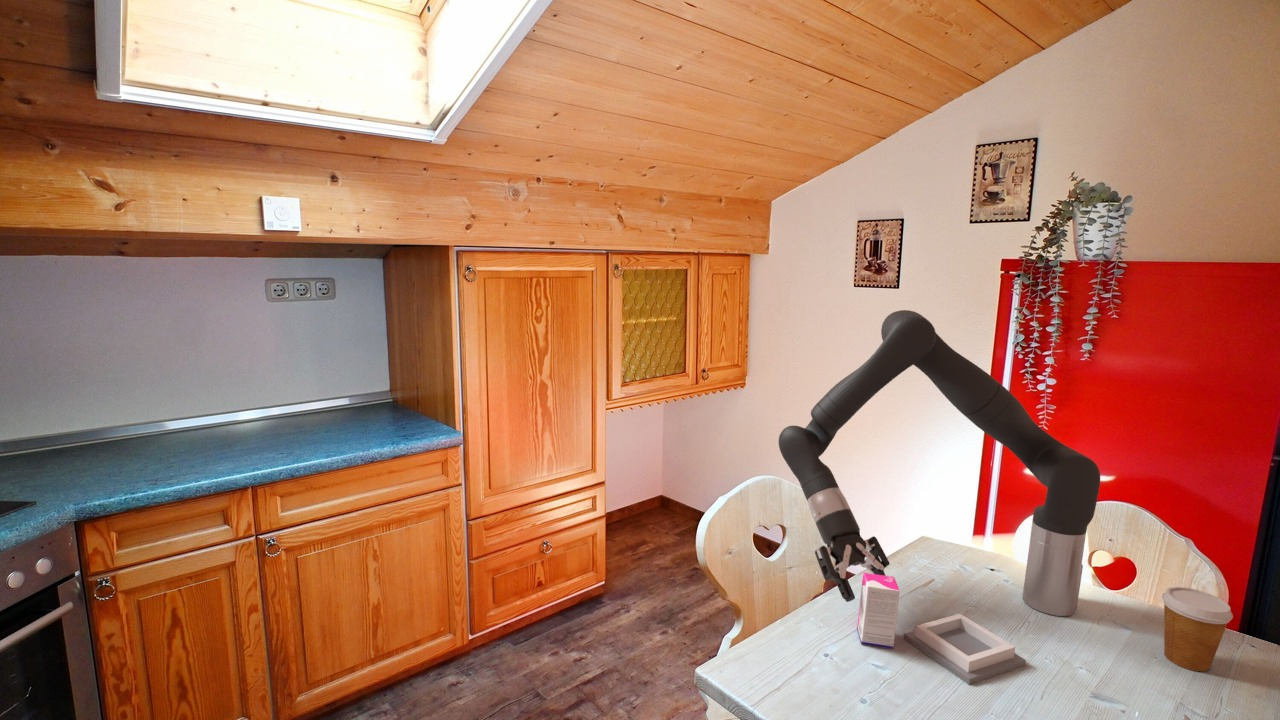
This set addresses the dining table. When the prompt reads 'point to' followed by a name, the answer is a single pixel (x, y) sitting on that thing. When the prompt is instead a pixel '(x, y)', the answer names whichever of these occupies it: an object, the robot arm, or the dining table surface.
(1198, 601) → the disposable coffee cup
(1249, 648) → the dining table surface
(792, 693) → the dining table surface
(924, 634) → the socket
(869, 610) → the supplement box
